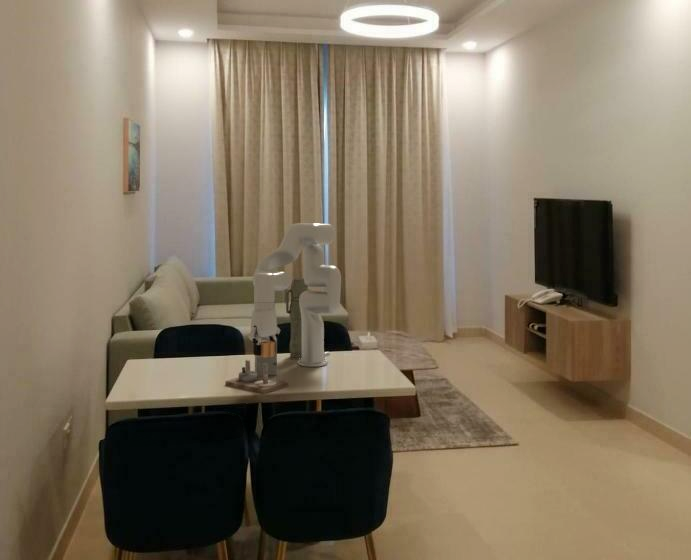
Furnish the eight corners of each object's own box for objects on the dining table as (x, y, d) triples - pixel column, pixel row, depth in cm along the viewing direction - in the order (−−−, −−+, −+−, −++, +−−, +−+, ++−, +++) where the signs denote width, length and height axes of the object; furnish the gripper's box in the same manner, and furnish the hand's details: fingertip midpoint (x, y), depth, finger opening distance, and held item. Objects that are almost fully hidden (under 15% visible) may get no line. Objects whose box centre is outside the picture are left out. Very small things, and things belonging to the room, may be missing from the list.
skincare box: (256, 377, 273) (256, 337, 271) (254, 372, 280) (253, 334, 278) (278, 375, 275) (277, 336, 273) (275, 371, 282) (274, 333, 280)
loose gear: (264, 352, 261) (264, 339, 260) (278, 355, 257) (278, 341, 256) (250, 355, 255) (250, 342, 255) (265, 358, 251) (265, 344, 250)
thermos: (315, 357, 307) (315, 279, 303) (290, 360, 302) (289, 280, 298) (309, 353, 315) (308, 277, 311) (284, 355, 310) (283, 278, 306)
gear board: (225, 384, 261) (225, 361, 260) (249, 377, 271) (249, 355, 270) (264, 393, 249) (264, 369, 248) (288, 386, 260) (287, 362, 259)
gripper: (272, 302, 263) (272, 348, 265) (240, 307, 249) (240, 356, 251) (287, 304, 259) (287, 351, 261) (255, 309, 245) (255, 358, 247)
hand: (264, 353), depth 256 cm, fingers closed on loose gear, 7 cm apart
